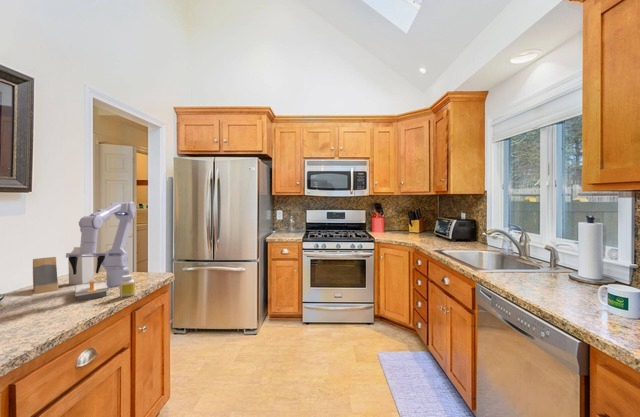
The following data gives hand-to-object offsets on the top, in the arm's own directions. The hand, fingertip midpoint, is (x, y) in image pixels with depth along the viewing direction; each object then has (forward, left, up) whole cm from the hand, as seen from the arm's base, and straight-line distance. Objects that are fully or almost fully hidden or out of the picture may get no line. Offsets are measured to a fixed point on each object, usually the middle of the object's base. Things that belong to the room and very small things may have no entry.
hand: (86, 273), depth 125 cm
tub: (-2, -4, -11) cm, 12 cm away
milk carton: (+1, -34, -11) cm, 36 cm away
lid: (-2, -3, -8) cm, 9 cm away
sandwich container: (+15, -29, -12) cm, 35 cm away
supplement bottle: (-14, +10, -11) cm, 21 cm away
